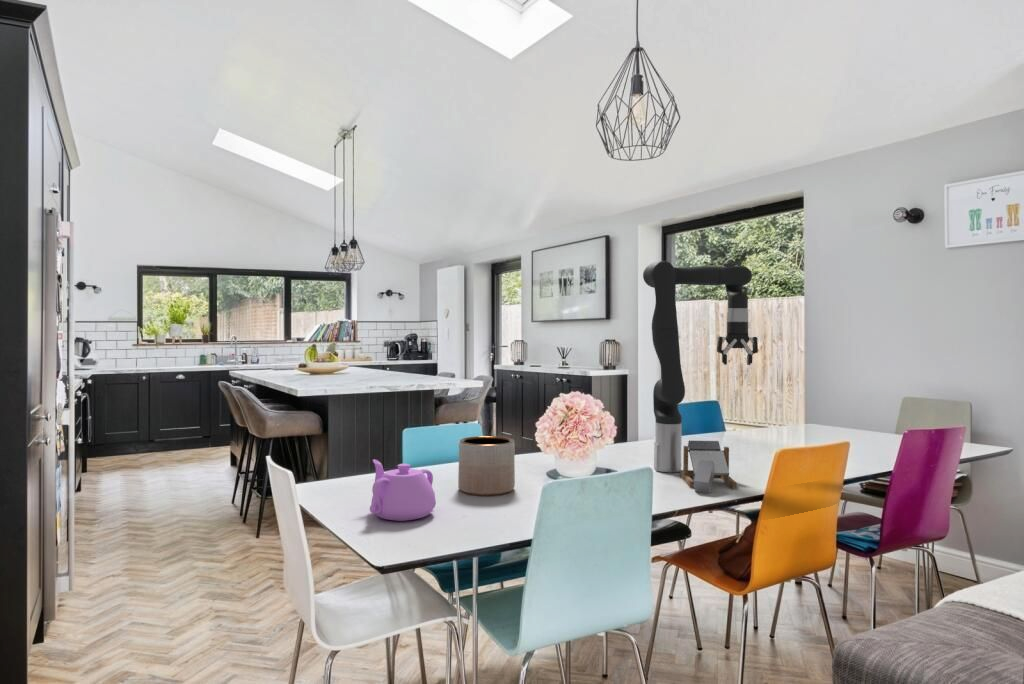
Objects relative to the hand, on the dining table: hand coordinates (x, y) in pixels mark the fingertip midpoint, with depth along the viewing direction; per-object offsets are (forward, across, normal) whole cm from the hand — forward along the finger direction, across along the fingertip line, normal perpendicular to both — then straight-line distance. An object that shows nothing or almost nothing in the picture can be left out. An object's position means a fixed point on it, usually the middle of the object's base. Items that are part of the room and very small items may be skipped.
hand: (737, 364), depth 245 cm
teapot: (+38, -108, -74) cm, 137 cm away
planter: (+38, -88, -44) cm, 106 cm away
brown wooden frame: (+38, -16, -26) cm, 49 cm away
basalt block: (+31, -18, -34) cm, 49 cm away
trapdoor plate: (+32, -16, -25) cm, 43 cm away
